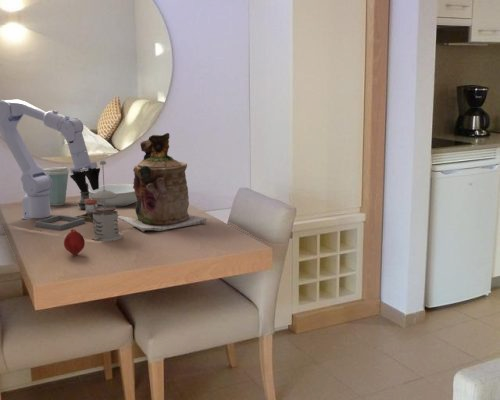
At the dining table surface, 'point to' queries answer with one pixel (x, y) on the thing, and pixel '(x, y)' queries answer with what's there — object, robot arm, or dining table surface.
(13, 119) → the robot arm
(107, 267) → the dining table surface
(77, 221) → the tray
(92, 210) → the pin
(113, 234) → the french press
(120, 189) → the serving bowl
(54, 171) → the disposable coffee cup
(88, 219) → the board
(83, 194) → the grey tiered figure
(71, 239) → the onion
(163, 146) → the cookie jar
